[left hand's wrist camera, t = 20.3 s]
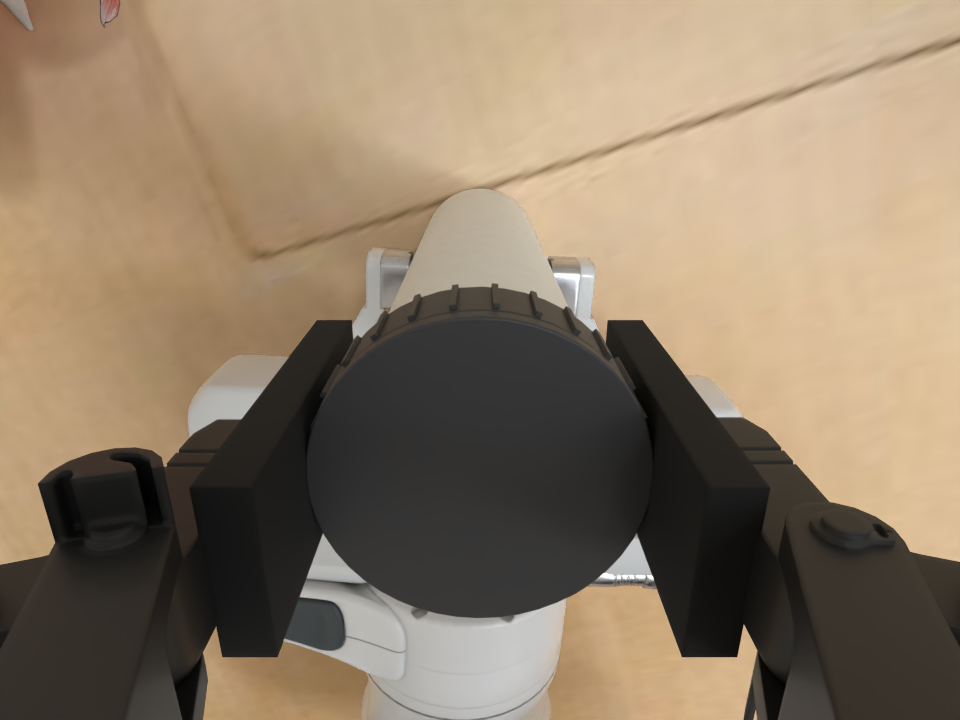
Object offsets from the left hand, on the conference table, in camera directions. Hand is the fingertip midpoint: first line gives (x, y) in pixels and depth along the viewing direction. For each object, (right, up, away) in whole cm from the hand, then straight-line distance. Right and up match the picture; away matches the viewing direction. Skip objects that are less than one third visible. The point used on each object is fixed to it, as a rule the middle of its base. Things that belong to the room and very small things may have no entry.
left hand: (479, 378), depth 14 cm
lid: (0, -1, -4) cm, 4 cm away
